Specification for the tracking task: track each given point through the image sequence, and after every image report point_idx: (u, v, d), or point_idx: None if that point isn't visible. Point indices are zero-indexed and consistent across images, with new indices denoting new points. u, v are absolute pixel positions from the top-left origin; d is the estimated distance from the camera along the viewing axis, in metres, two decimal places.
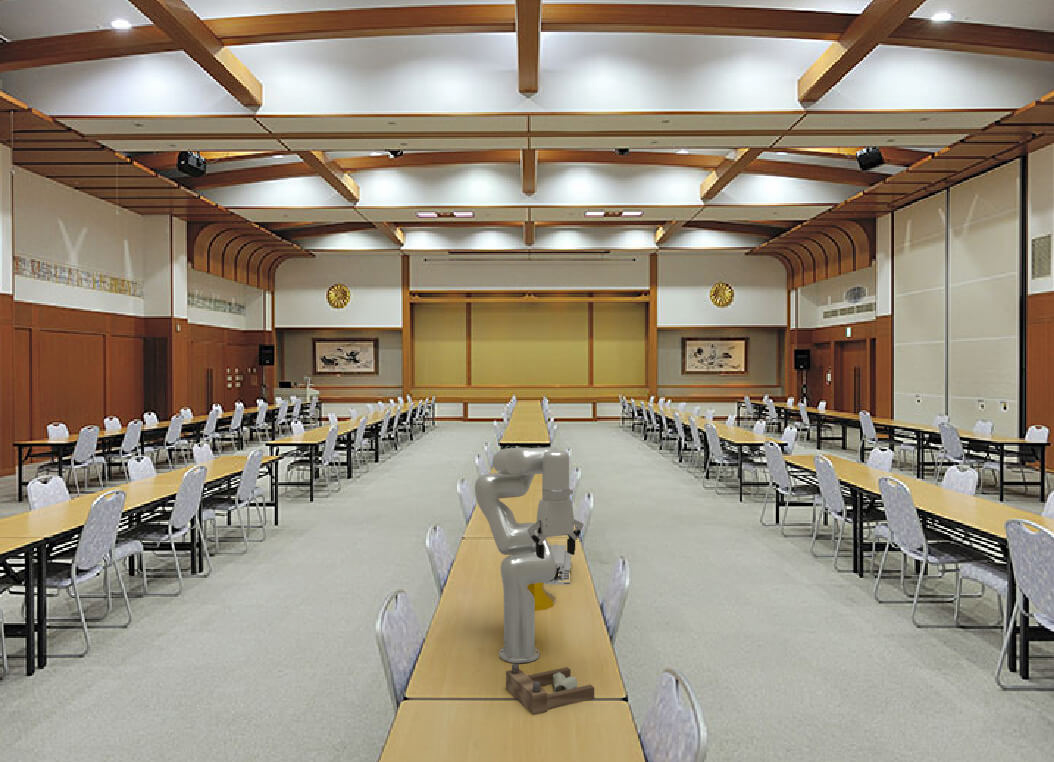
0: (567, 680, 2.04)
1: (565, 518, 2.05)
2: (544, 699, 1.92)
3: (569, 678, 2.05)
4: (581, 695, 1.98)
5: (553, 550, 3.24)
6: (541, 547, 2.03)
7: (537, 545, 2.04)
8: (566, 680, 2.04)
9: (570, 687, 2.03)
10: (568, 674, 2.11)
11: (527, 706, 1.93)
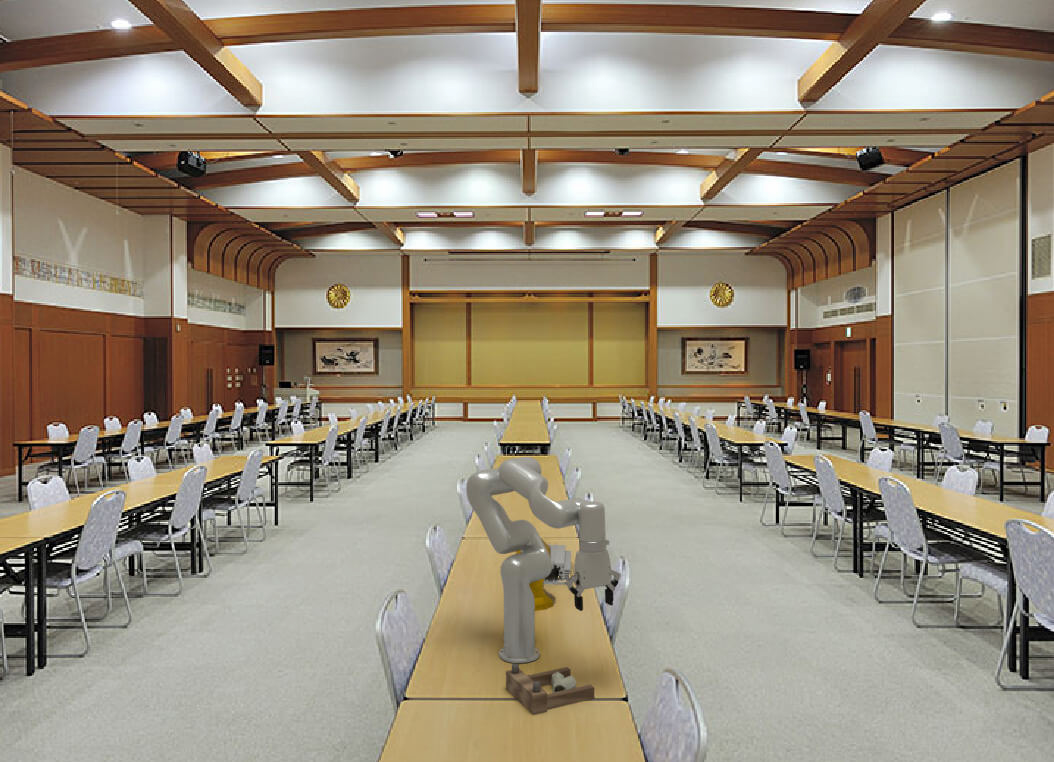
0: (565, 680, 2.04)
1: (603, 569, 2.06)
2: (544, 699, 1.92)
3: (568, 678, 2.05)
4: (581, 695, 1.98)
5: (553, 550, 3.24)
6: (580, 599, 2.04)
7: (576, 597, 2.05)
8: (565, 680, 2.04)
9: (569, 687, 2.04)
10: (568, 674, 2.11)
11: (527, 706, 1.93)
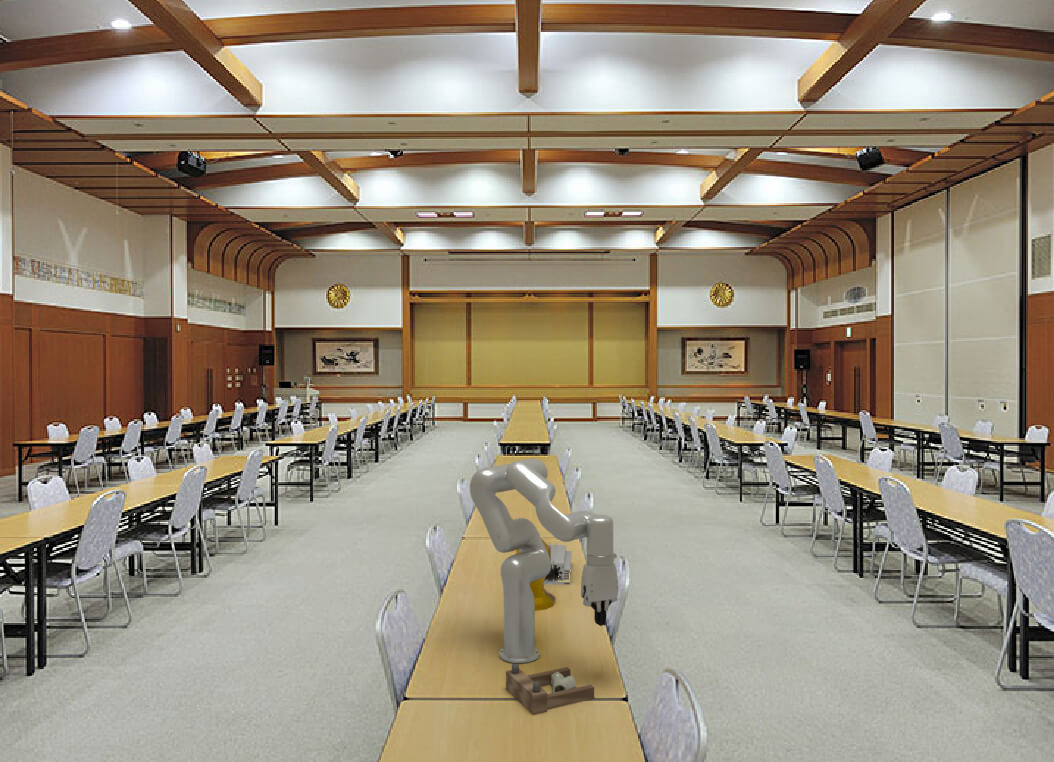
0: (565, 680, 2.04)
1: (610, 583, 2.07)
2: (544, 699, 1.92)
3: (568, 678, 2.05)
4: (581, 695, 1.98)
5: (553, 550, 3.24)
6: (600, 614, 2.07)
7: (596, 612, 2.08)
8: (565, 680, 2.04)
9: (569, 687, 2.04)
10: (568, 674, 2.11)
11: (527, 706, 1.93)
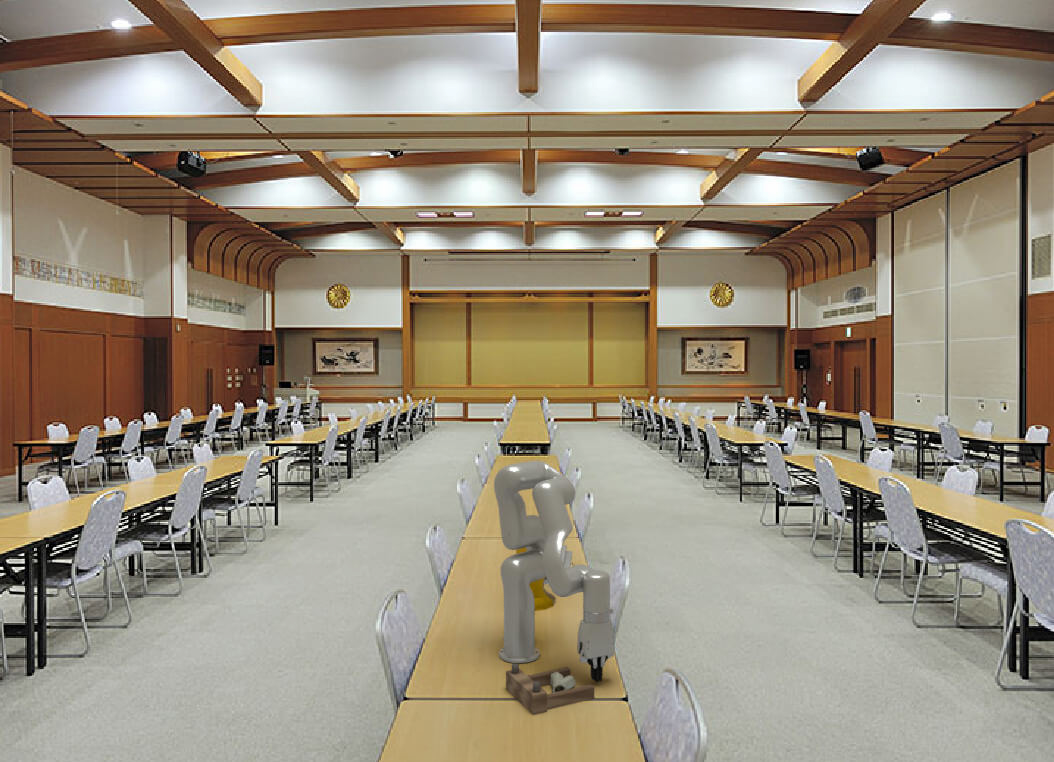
0: (565, 680, 2.04)
1: (606, 639, 2.07)
2: (544, 699, 1.92)
3: (567, 678, 2.05)
4: (581, 695, 1.98)
5: None
6: (596, 670, 2.07)
7: (592, 668, 2.08)
8: (564, 680, 2.04)
9: (568, 687, 2.04)
10: (568, 674, 2.11)
11: (527, 706, 1.93)
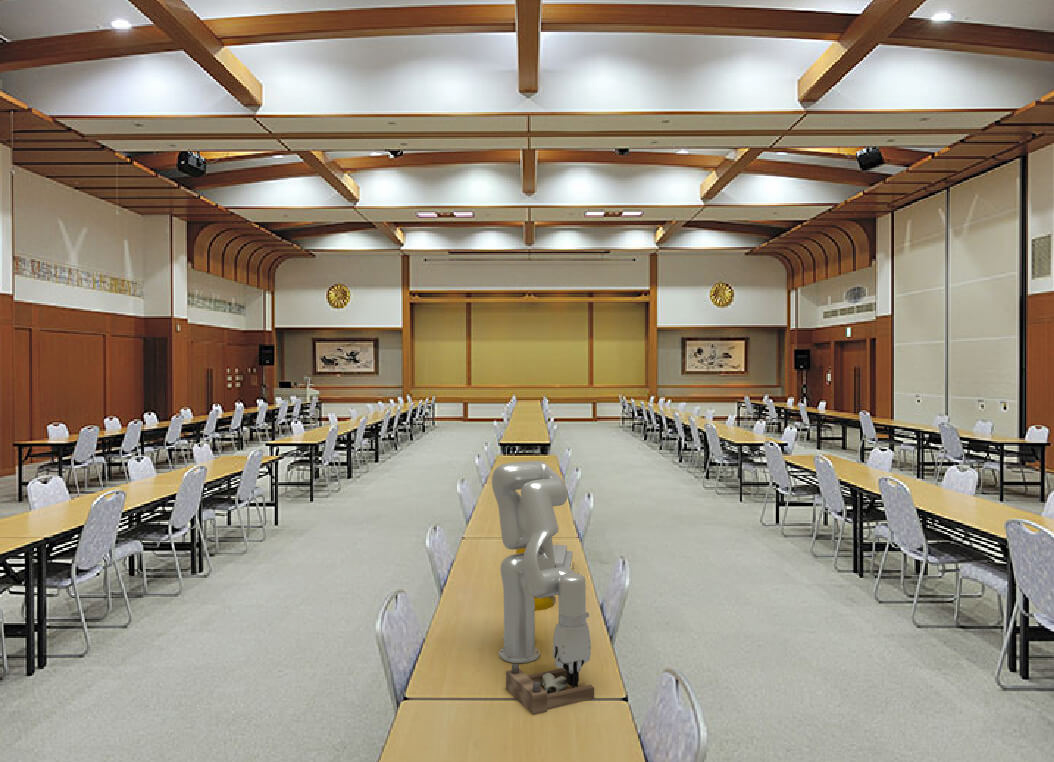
0: (557, 681, 2.03)
1: (582, 643, 2.03)
2: (544, 699, 1.92)
3: (559, 678, 2.04)
4: (581, 695, 1.98)
5: (554, 550, 3.24)
6: (572, 675, 2.03)
7: (568, 673, 2.04)
8: (557, 680, 2.03)
9: (561, 687, 2.03)
10: None
11: (527, 706, 1.93)
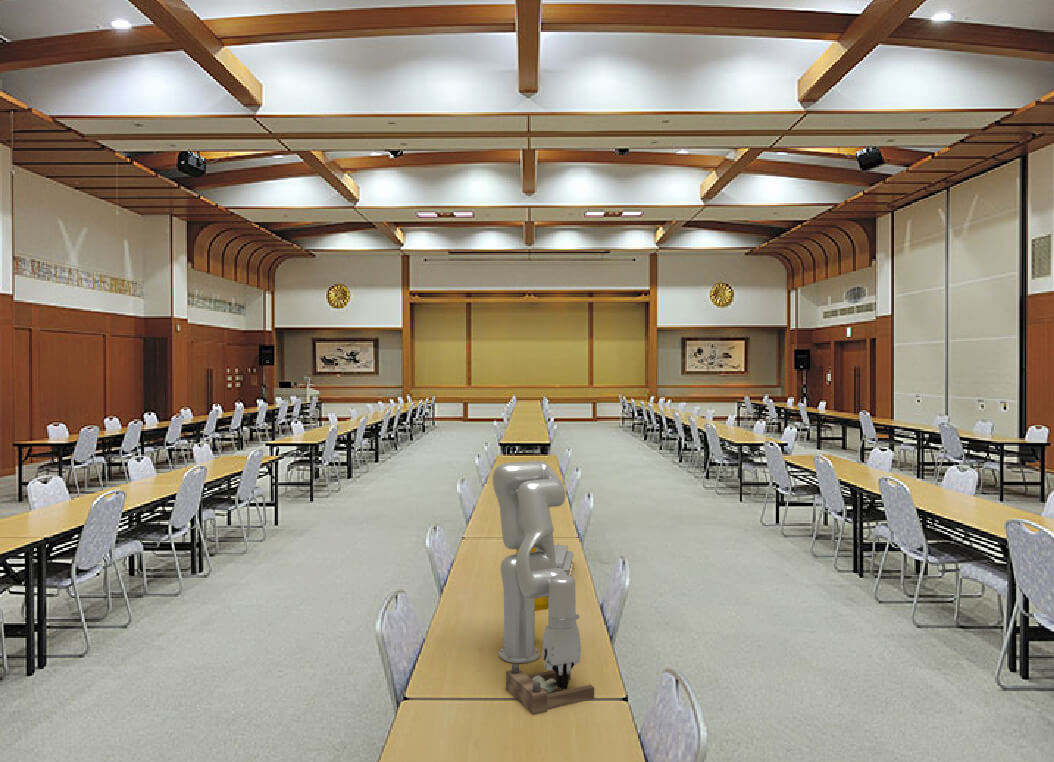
0: (547, 683, 2.01)
1: (572, 645, 2.02)
2: (544, 699, 1.92)
3: (549, 681, 2.03)
4: (581, 695, 1.98)
5: None
6: (562, 678, 2.01)
7: (557, 675, 2.02)
8: (546, 683, 2.02)
9: (551, 690, 2.01)
10: None
11: (527, 706, 1.93)
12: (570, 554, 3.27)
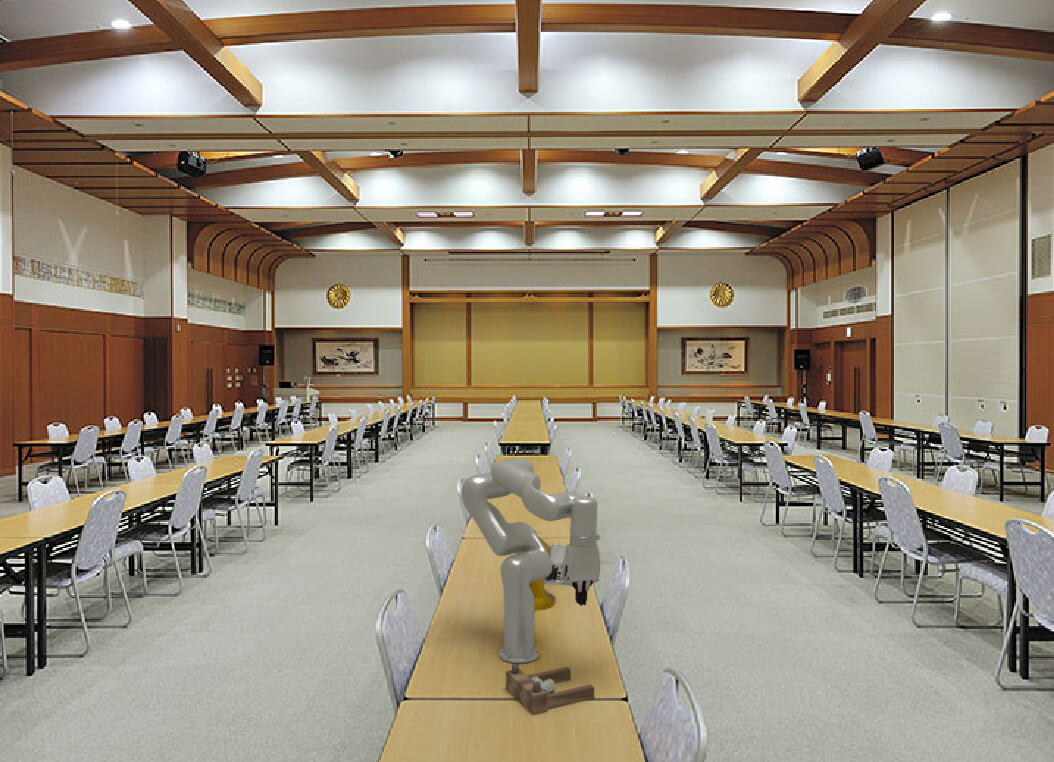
0: (545, 684, 2.01)
1: (591, 564, 2.09)
2: (544, 699, 1.92)
3: (547, 681, 2.03)
4: (581, 695, 1.98)
5: (555, 550, 3.24)
6: (581, 594, 2.09)
7: (577, 592, 2.10)
8: (545, 683, 2.01)
9: (549, 690, 2.01)
10: (568, 674, 2.11)
11: (527, 706, 1.93)
12: None
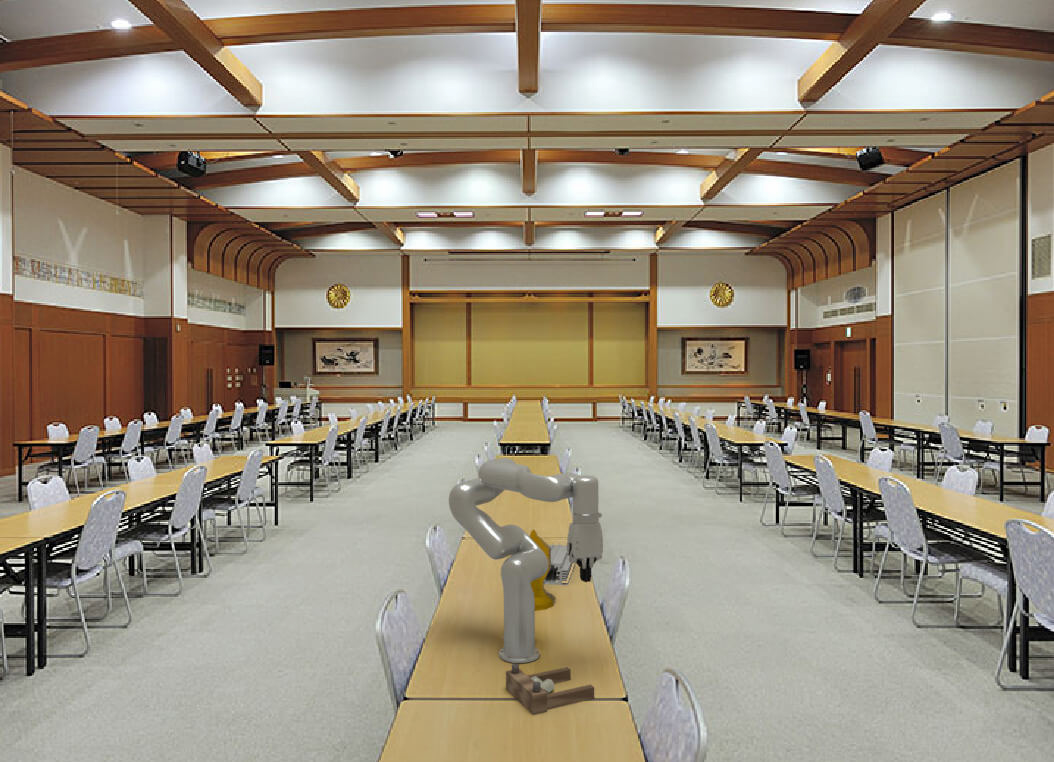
0: (545, 684, 2.01)
1: (595, 541, 2.14)
2: (544, 699, 1.92)
3: (547, 681, 2.03)
4: (581, 695, 1.98)
5: (555, 550, 3.24)
6: (585, 571, 2.14)
7: (581, 569, 2.15)
8: (545, 684, 2.01)
9: (549, 690, 2.01)
10: (568, 674, 2.11)
11: (527, 706, 1.93)
12: None
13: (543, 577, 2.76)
